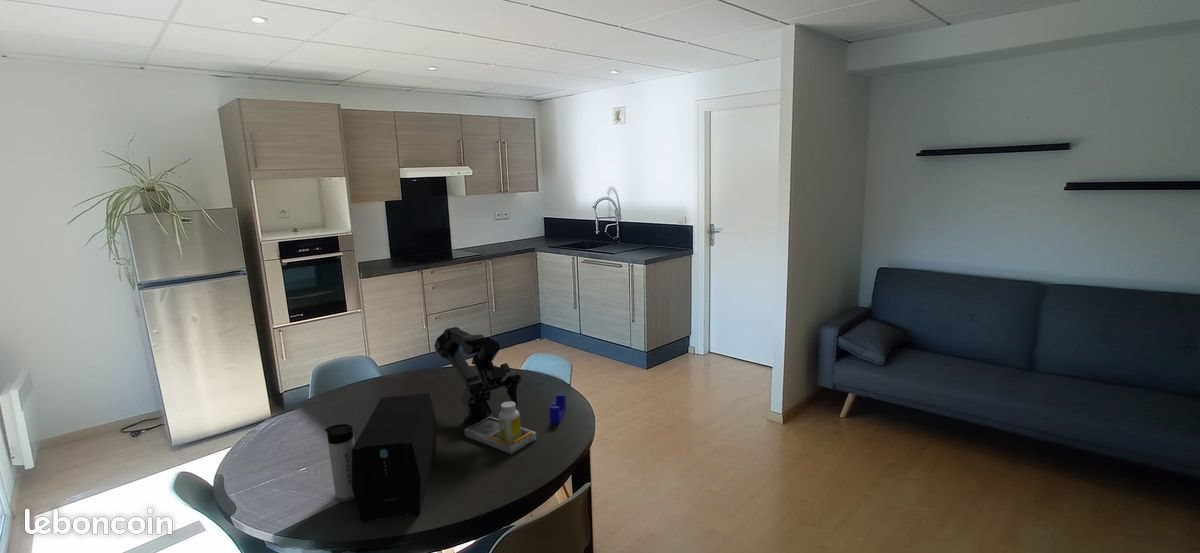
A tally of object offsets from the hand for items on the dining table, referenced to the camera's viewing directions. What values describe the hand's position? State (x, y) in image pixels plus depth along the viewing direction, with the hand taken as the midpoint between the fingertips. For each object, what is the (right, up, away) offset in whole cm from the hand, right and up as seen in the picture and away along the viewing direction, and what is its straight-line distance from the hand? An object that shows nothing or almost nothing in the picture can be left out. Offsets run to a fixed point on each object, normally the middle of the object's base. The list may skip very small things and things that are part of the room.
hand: (504, 410), depth 175 cm
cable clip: (+16, -7, +17) cm, 24 cm away
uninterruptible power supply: (-25, -15, -22) cm, 36 cm away
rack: (-2, -10, +2) cm, 10 cm away
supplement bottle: (+2, -10, -1) cm, 11 cm away
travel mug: (-38, -17, -27) cm, 50 cm away
